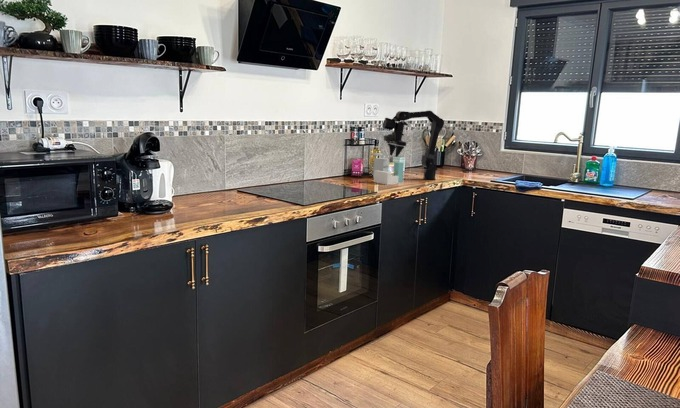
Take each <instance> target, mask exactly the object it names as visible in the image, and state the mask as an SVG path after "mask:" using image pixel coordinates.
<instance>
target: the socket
mask: <svg viewBox="0 0 680 408" xmlns="http://www.w3.org/2000/svg"><path fill="white" fill-rule="evenodd" d="M392 175H393V174H392V172H391V171H388V172H385V171H379V170H375V171H374V178H373V183H377V184H380V185H382V184H383V185H386V186H387V185H394V184H395V185H396V184H399V183H398V177H399V176H392Z"/></svg>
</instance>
